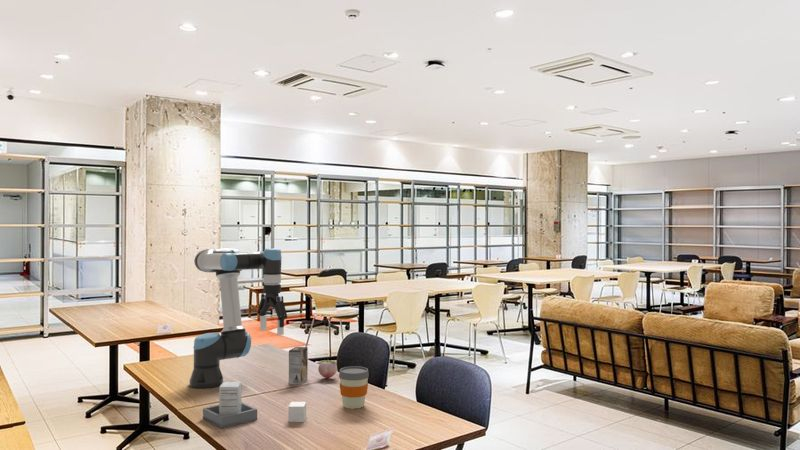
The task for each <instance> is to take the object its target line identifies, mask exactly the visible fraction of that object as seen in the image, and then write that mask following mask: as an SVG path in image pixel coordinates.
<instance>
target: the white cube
mask: <svg viewBox="0 0 800 450" xmlns="http://www.w3.org/2000/svg"><path fill="white" fill-rule="evenodd" d="M287 418H288V423H304V422H305V421H306V418H307V401H290V403H289V405H288V417H287Z"/></svg>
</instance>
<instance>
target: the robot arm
mask: <svg viewBox="0 0 800 450" xmlns="http://www.w3.org/2000/svg"><path fill="white" fill-rule="evenodd" d="M282 258H283V257H282V251H281V249H280V248H265V249H264V250H263V251H254V252H241V251H240V250H239V249H237V248H230V247H229V248H207V249H203V250H201V251H199V252H197V254H196V255H195V257H194V260H193V261H194V265H195V268H196V269H197V270H198V271H200V272H203V273H215V277H216V278H217V279H218V280H219V287H220V288H219V289H220V300H221V312H222V322H223V328H222V330H221V331H220V333H219V332H207V333H203V334H201V335H198V336H196V337H195V338H194V341H193V348H192V349H193V370H192V372H191V375H190V378H189V387H191V388H194V389H208V388H209V389H211V388H214V387H218V386H219V387H220V386H221V384H222V383H223V382H224V377H223V373H222V371H221V367H220V361H222V360H231V359H236V358H237V359H238V358H243V357H245V356H247V355H249V352H250V351H251V347H252V337H251V334H250V333H249V332H247V331H246V327H244V326H243V325H242V324H243V323H242V315H241V314H242V313H241V304H240V293H239V292H240V291H239V282H238V279H239V278H238V277H239V276H240V275H241V271H242V270H243V271H244V270H248V271H249V270H263V279H262V280H263V285H262V286H263V287H262V288H263V291H262V293H261V294H260V299H259V300H260V301H259V303H258V304H259V305H258V307H257V312H256V313H257V315H259V324H260V325H259V329H260V330H259V331H260V332H261V331H262V332H264V331H267V318H268V317H267V315H268V314H267V312H268V310H269V309H270V306H271V307H272V308H273V310H274V312H275V313H276V316H277V320H276V321H277V322H276V323H277V324H276V325H277V327H276V329H277V331H276V334H277V336H283V335H284V334H285V333H284V330H285V328H284V327H285V319H288V314H287V310H286V306H285V303H284V302H285V301H284V296H283V295H281V296H279V294H280V293H281V292H282V284H281V283H282Z"/></svg>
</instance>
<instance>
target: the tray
mask: <svg viewBox="0 0 800 450" xmlns="http://www.w3.org/2000/svg"><path fill="white" fill-rule="evenodd" d="M202 419H203V420H204V421H206V422H208V423H210V424H212V425H214V426H216V427H218V428H219V429H225V428H229V427H233V426H237V425H241V424H244V423H248V422H253V421H256V420H258V408H256V407H253V406H252V405H249V404H247V403H244V402H242V401H241V412H240V413H236V414H232V415H228V416H224V417H223V416H221V415H219V404H217V405H212V406H207V407H203V408H202Z"/></svg>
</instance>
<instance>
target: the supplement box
mask: <svg viewBox="0 0 800 450" xmlns="http://www.w3.org/2000/svg"><path fill="white" fill-rule="evenodd" d="M218 388H219V393H218V398H219V399H218V402H219V403H218V405H219V415H221V416H223V417H224V416H228V415H232V414H236V413H240V412H241V402H242V381H223V383H222V384H221V385H219V387H218Z"/></svg>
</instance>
